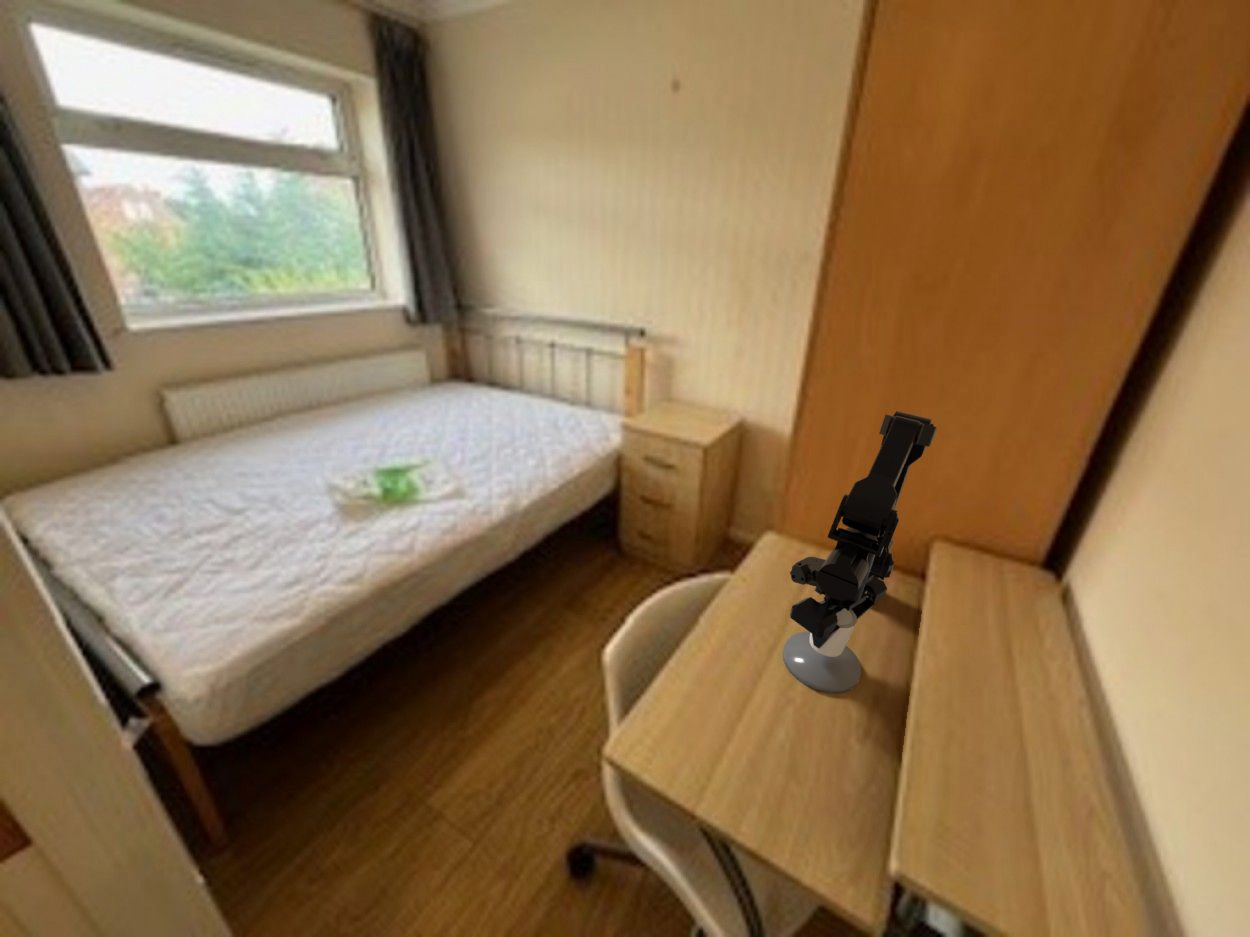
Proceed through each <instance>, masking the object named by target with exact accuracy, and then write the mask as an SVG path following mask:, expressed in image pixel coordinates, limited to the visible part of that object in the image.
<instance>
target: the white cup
mask: <svg viewBox="0 0 1250 937" xmlns="http://www.w3.org/2000/svg"><path fill="white" fill-rule="evenodd" d="M818 602H819V603H821V604H823V603H824V602H826V601H824V600H823V599H822V600H820V601H818ZM837 620H838V622H837V625H838V626H839V627H840V628H839V629H838V630H837V631H836V632H835V633H834V634H833V635H832V636H831V637H830V639H829V640H828V641H827V642H826V643H825V644H824V645H823V646H822V647H820V648H817V647H816V646H814V644H813V638H812V633H810V644H811V646H812V648H814V649H815V650H816V651H817V652H819V653H820V654H822V655H825V656H829V657H836V656H838V655H841V653H842V652H843V650H844V648H845V646H847V644H848V642H849V639H850V638H851V635H852V633H853V631H854V629H855V628H856V625H857V623H858V620H857V616H856V615H855V613H854V612H853V610H849V611H848V610H846V609H844V610H843V611H841V612H840V613H838V614H837Z"/></svg>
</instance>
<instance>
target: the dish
mask: <svg viewBox="0 0 1250 937" xmlns="http://www.w3.org/2000/svg"><path fill="white" fill-rule="evenodd" d="M810 633H811V632H809V631H802V632H798V633H794V634H793V635H791V636H789V638H787V639H786V641H785V643H784V645H783V646H784V647H783V651H782V660H783V662H784V665H785V668H787V670H788V671H789V673H790V674H791V675H792V676H793V677H794V678H795V679H797V681H799V682H800V683H801V682H802V683H801V684H803V685H804V686H806V687H808V686H809V688H810V687H811V688H810V689H812V688H813V690H815V691H818V692H822V693H827V694H832V693H833V695H834V694H835V693H836V694H837V693H838V694H843V693H847V692H851V691H852V690H853V689H855V688H856V687H857V684H858V683H859V682H860V679H861V675H862V666H861V662H860V660H859V659H858V656H857V655H856V654H855V653H854V651H853V650H852V649H851V648H849V647H848V646H847V645H846V646H845V648H844V650H843V652H842V653H841V655H838V656H836V657H829V656H825V655H822V654H820V653H819V652H817V651H816V650H815V649H814V648H812V646H811V644H810ZM852 688H853V689H852ZM851 689H852V690H851Z"/></svg>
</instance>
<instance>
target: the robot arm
mask: <svg viewBox="0 0 1250 937" xmlns="http://www.w3.org/2000/svg"><path fill="white" fill-rule="evenodd" d="M932 422H933V419H932V418H928V417H923V416H920V415H917V414H911V413H907V412H903V411H898V410H896V411H895V412H894V414H893V415H888V414H885V415H884V416H883V421H882V423H881V426H880V428H879V432H878V434H879V435H882V436H883V437H882V439H881V440H882V441H881V445H880V446H881V447H880V449H879V451H878V453H877V455H876V457H875V459H874V462H873V463H872V466H871V468H870V470H869V472H868V474H867V476H866V477H864V478H861V479H859V480H857V481H855V482H854V484H853V486H852V488H851V490H850V492H849V493H848V494H847V493H845V494H844V495H843V497H842V499H841V501H840V504H839V507H838V509H837V511H836V514H835V517H834V518H833V521H832V524H831V526H830V529H829V532H828V535H827V539H831V540H833V541H836V545H835V547H834V548H833V549H832V551H830V553H829V554H828V556H827V558H826V559H825V558H821V557H815V556H807V557H805V558H803V559H801V560H799V561H797V562H795V563H794V565H792V566H791V571H789V575H790V578H791V581H792V582H793V583H796V584H799V585H802V586H804V585H809V586H812V587H814V588H815V589H814V591H815V592H816V593H817V594H819V595H822V596H823V595H824V596H823V598H822V601H823V600H824V601H826V602H824V603H823V604H821V603H819V602H820V601H818V600H817V599H815V598H813V597H812V596H809V597H805V598H803V599H801V600H799V601H797V603H795V604H793V605H791V608H790V613H789V618H790V619H791V620H793V621H794V622H796V623H797V624H798V625H800V626H801V627H802V628H803V629H805V630H807V632H811V633H812V638H813V644H814V646H816V647H817V648H820V647H822V646H823V645H824V644H825V643H826V642H827V641H828V640H829V639H830V637H831V636H832V635H833V634H834V633H835V632H836V631H837V630H838V629H839V628H840V627H839V626H838V625H837V622H838V620H837V614H838V613H840V612H841V611H843V610H844V609H846V610H848V611H849V610H853V612H854V613H855V615H856V616H857V621H858V620H859V619H860V618H861V617H863V615H864V614H866V613H867V612H868V611H869V610H870V609H871V608H873V607H874V606H875V605H876V604H875V603H878V602H879V601H881V600H883V599H884V598H885V596H886V593H887V591H888V587H887V586H886V583H885V581H884V580H885V579H887V578H890V577H891V575H892V574H891V573H892V572H893V569H894V565H895V561H894V560H893V559H894V557H893V556H894V553H891V550H892V548H893V544H894V541H893V537H894V535H895V533H896V530H897V527H898V525H899V522H900V519H899V516H898V510H896V509H897V506H898V503H899V500H900V496H901V494H902V490H903V488H904V485H905V482H906V479H907V476H908V473H909V470H910V466H911V465H912V464H914V463H915V462H916V461H918V460H919V459H921V458H922V457H923V455H924V453H925V451H926V449H927V447H929V448H930V447H931V446H932V444H933V442H934V438H935V437H936V434H937V431H938V426H934V424H933V423H932ZM840 522H842V525H843V526H844V527H847V528H842V527H839V524H840Z"/></svg>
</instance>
